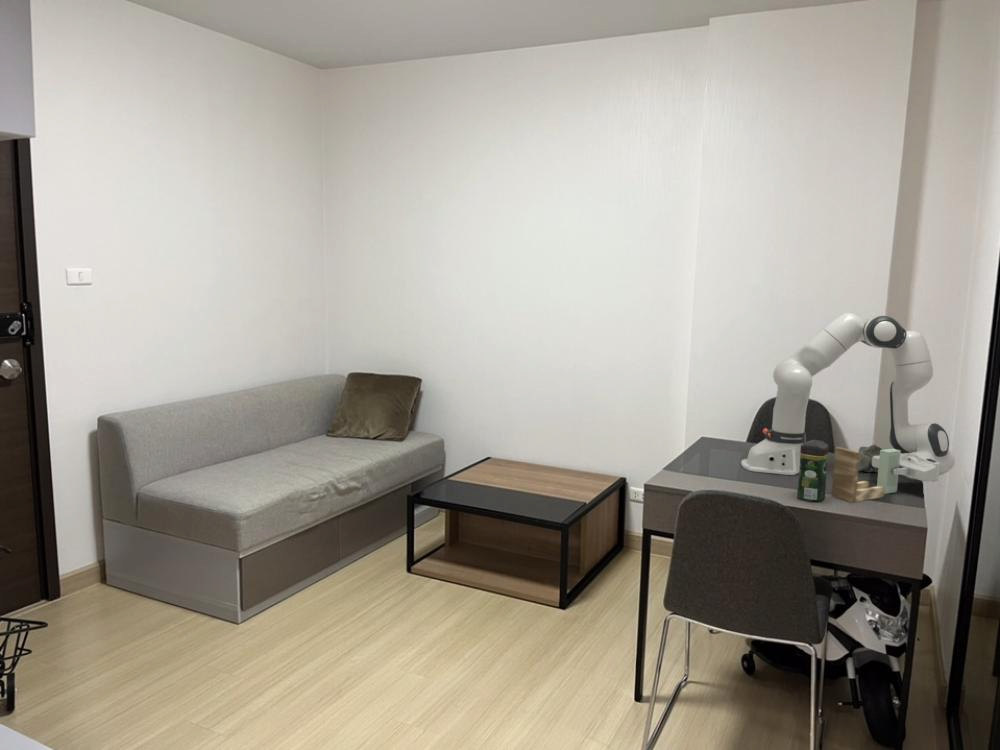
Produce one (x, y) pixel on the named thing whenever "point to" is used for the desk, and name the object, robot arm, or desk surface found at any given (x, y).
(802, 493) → the coffee jar
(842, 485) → the track
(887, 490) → the mint green rectangular block
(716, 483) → the desk surface
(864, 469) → the mineral rock
